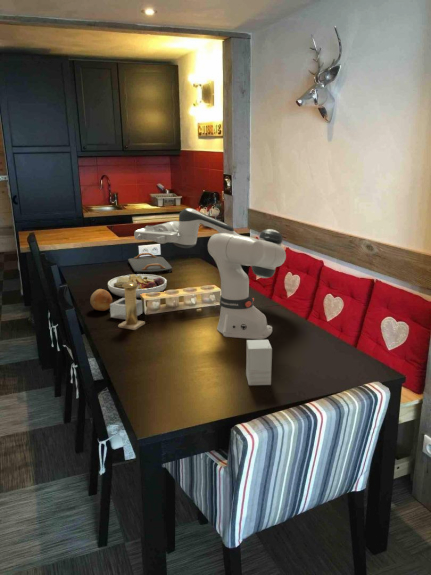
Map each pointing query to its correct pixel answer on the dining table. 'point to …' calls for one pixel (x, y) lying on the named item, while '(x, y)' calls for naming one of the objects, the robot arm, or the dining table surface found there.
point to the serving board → (149, 264)
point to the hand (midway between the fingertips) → (147, 238)
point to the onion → (101, 300)
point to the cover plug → (130, 302)
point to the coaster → (133, 327)
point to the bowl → (138, 284)
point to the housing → (123, 308)
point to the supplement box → (258, 362)
